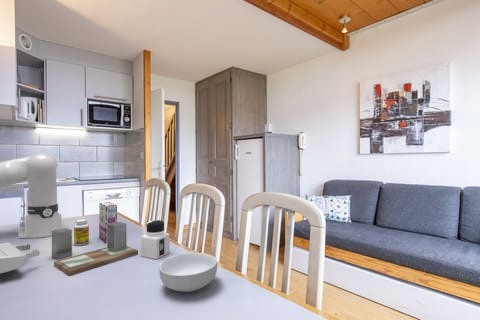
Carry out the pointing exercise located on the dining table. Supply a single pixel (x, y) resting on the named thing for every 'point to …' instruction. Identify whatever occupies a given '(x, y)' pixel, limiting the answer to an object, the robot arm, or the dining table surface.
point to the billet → (116, 237)
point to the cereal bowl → (188, 271)
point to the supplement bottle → (81, 232)
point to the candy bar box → (106, 218)
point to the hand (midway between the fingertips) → (34, 249)
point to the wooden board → (92, 260)
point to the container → (155, 240)
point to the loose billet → (61, 243)
